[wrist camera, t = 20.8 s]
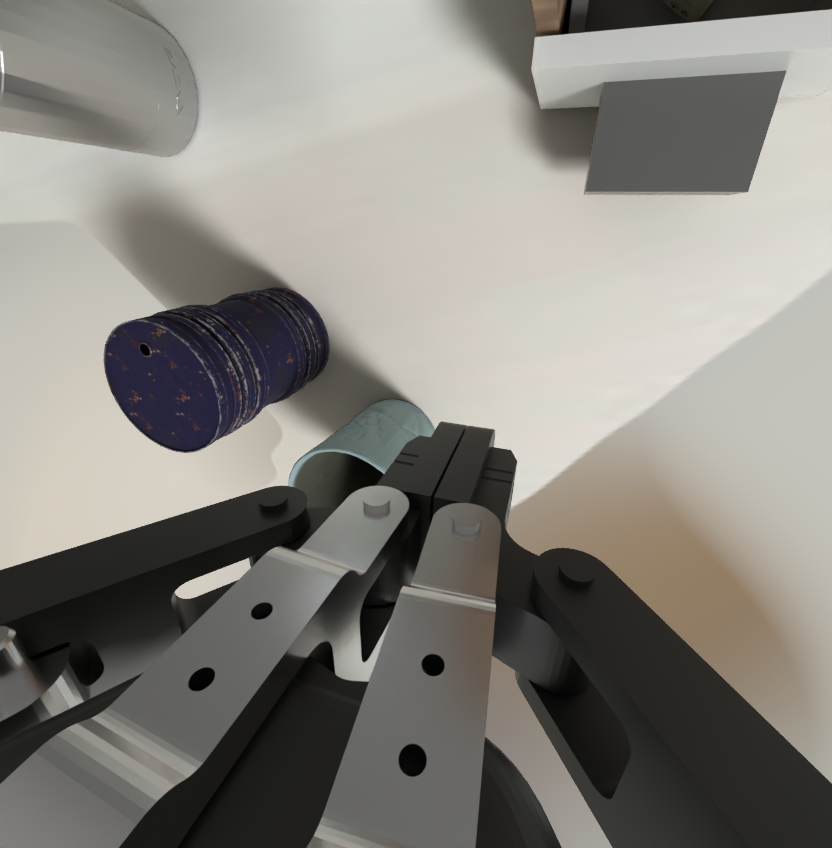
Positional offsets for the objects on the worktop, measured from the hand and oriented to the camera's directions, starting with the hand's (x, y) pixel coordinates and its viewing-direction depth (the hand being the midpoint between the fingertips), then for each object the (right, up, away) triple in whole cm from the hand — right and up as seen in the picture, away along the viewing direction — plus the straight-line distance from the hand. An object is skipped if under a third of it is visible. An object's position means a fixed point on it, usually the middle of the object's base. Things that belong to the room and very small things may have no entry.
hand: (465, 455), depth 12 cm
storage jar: (-14, +9, +30) cm, 34 cm away
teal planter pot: (-3, 0, +31) cm, 31 cm away
